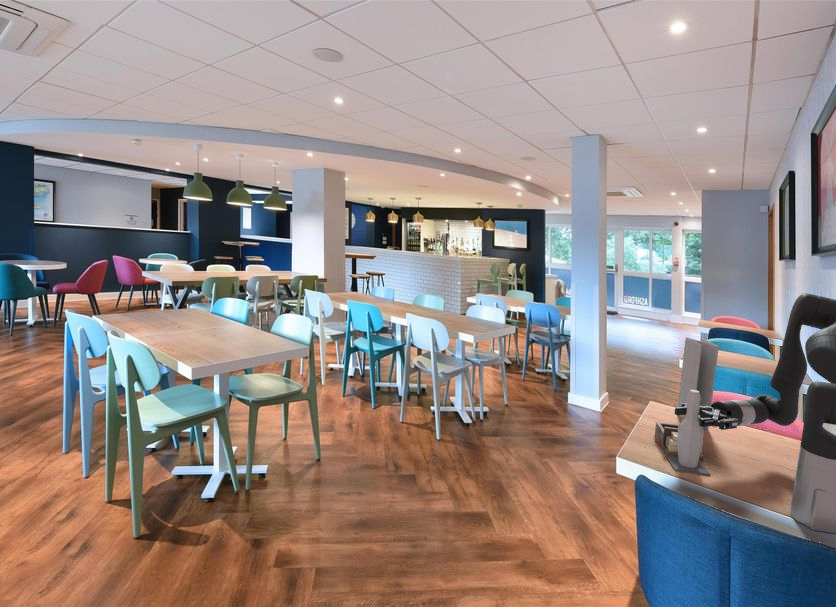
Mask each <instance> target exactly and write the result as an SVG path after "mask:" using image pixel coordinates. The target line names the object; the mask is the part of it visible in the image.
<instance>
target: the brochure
mask: <svg viewBox="0 0 836 607" xmlns="http://www.w3.org/2000/svg"><path fill="white" fill-rule="evenodd" d="M719 347H720V346H719V345H717V344H715V343H713V342H712V341H711V342H710V341H709V340H706V339H705V338H702V337H701V338H700V340H697V339H694V338H691V337H687V336H685V341H684V347H683V348H684V349H683V358H682V365H681V367H682V368H681V374H680V384H679V390H678V391H679V392H678V400H677V407H681V405H682V403H687V395H688V393H689V391H690V390H697V391H699V393H700V397H701V401H700V406H711V405H712V404H713V396H714V395H713V394H714V387H715V379H716V373H717V364H718V355H719V349H720V348H719ZM698 415H699V412H698ZM678 417H679V418H681V420H682V421H683V420H684V419H685V418H686V415H678ZM700 419H701V418H698V421H699V420H700ZM703 428H704V430H707V431H709V428H710V426H708V427H703Z"/></svg>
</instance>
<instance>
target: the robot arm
mask: <svg viewBox="0 0 836 607" xmlns="http://www.w3.org/2000/svg"><path fill="white" fill-rule="evenodd" d="M803 326H807V327H811V328H813V329H814V328H815V329H818V331H816V332H814V333H812V335H810V336H809V337H808V339H807V340H806V341H805V345H804V350H805V352H804V350H803V345H802V343H801V330H802V327H803ZM782 342H783V343H782V348H781V352H780V355H779V359H778V362H777V364H776V367H775V369H774V372H773V375H772V377H771V380H770V387H771V388H772V389H774V390H775V391H776V392H778V394H779V397H780V398H778V397H775V396H774V395H770V394H759V395H757V396H755V397H752V398H750V399H744V400H743V399H742V400H740V399H732V400H731V399H729V400H718V401H714V402H712V405H711V406H699V415H698V418H701V419H700V420H699V426H701V427H708V426H709V427H712V428H718V429H719V430H721V431H724V430H731V429H737V428H738V427H743V426H747V425H755V424H762V423H765V421H767V420H768V421H771V422H772V423H775V424H777V425H779V426H783V427H787V426H791V425H792V424H793V423H794V422H795V421H796V420H797V418H798V414H799V401H800V400H799V398H800V390H801V388H802V385H803V383H804V380H805V378H806V376H807V372H808V365H809V367H810V368H811V369H812V370H813V371H814V372H815V373H816V374H817V375H819V376H820V377H821V378H822V379H824V380H825V381H827V382H825V381H817V380H816V381H812V382H811V383H810V384H809V386H808V388H807V389H806V390H807V391H806V395H805V405H804V418H803V426H802V433H801V440H800V446H799V452H798V460H797V464H796V472H795V475H794V476H795V477H794V483H793V490H792V498H791V503H790V509H789V510H790V512H789V513H790V514H789V515H791V517H792V518H793V519H794V520H796V521H797V522H799V523H800V524H802V525H804V526H806V527H808V528H809V529H810V530H813V531H818V532H825V533H831V534H836V434H834V433H832V432H830V431H828V430H827V429H826V428H825V427H824V426H823V425H824V424H828V425H832V426H833V425H834V426H836V299H834V298H829V297H826V296H821V295H816V294H812V293H808V292H806V293H801V294H800V295H799V296H798V297H797V298H796V299H795V301H794V302H793V305H792V306H791V310H790V313H789V317H788V321H787V325H786V328H785V333H784V339H783V341H782ZM674 408H675V409H674V415H676V416H679V415H686V413H687V403H682V405H681V407H678V406H677V407H674Z"/></svg>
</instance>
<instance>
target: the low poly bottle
mask: <svg viewBox="0 0 836 607" xmlns="http://www.w3.org/2000/svg"><path fill="white" fill-rule="evenodd" d="M700 401H701V397H700V393H699V391H697V390H690V391H689V393H688V395H687V413H686V418H685V419H684V420H683V419H682V421H680V422H679V423H678V436H677V442H678V461H679V463H680V464H681V465H683V466H686V467H691V468H695V467H696V466H697V464H698V460H699V456H700V452H701V449H702V448H703V443H704V435H705V428H703V427H701V426H699V421H698V412H699V406H700Z"/></svg>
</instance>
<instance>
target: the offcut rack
mask: <svg viewBox="0 0 836 607" xmlns="http://www.w3.org/2000/svg"><path fill="white" fill-rule="evenodd" d="M678 425H679V423H678V424H677V423H676V424H675V423H668V422H660V421H656V422H655V428H654V429H655V430H654V438H655V439H656V441H657V443H658V444H659V446H660V447H661V449H662V450H663V452H664V453H665V456H666V455H669V456H677V457H678V442H677V436H678ZM705 458H706V457H705V455H704V454H703V449H702V448H701V452H700V456H699V460H700V461H701V462H704V461H705Z"/></svg>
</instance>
